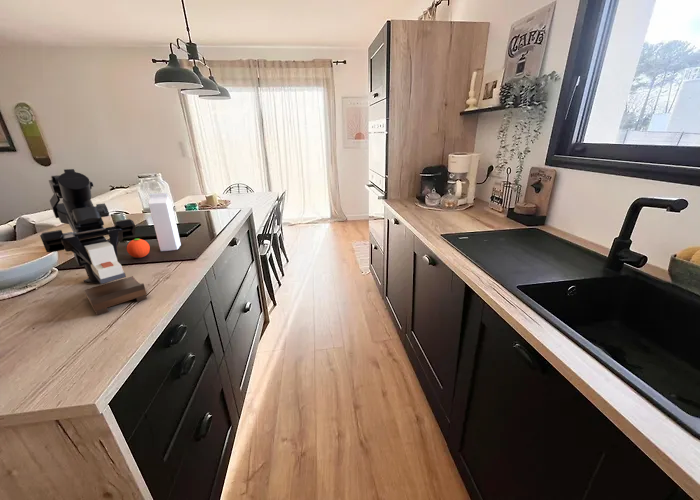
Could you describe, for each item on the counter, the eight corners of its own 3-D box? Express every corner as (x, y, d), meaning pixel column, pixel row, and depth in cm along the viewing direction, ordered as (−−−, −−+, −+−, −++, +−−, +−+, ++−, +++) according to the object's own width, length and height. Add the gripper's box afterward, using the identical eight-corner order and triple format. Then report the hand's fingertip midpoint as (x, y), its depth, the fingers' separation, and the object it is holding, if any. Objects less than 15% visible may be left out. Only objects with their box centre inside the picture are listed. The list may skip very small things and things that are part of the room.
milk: (177, 250, 113) (164, 194, 106) (160, 251, 112) (145, 195, 104) (181, 245, 119) (169, 191, 111) (164, 246, 117) (151, 192, 109)
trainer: (92, 273, 77) (83, 245, 75) (116, 267, 81) (108, 240, 78) (100, 284, 72) (90, 254, 69) (125, 277, 75) (117, 248, 73)
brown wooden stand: (87, 299, 78) (81, 284, 76) (135, 285, 85) (131, 271, 84) (96, 315, 70) (90, 299, 69) (148, 298, 78) (143, 283, 76)
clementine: (133, 254, 109) (127, 236, 107) (154, 251, 112) (149, 234, 109) (127, 261, 102) (121, 243, 100) (150, 258, 105) (145, 240, 102)
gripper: (25, 200, 66) (48, 256, 63) (123, 190, 79) (146, 236, 76) (36, 226, 73) (57, 277, 71) (124, 213, 87) (145, 256, 84)
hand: (104, 260), depth 75 cm, fingers closed on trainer, 5 cm apart
